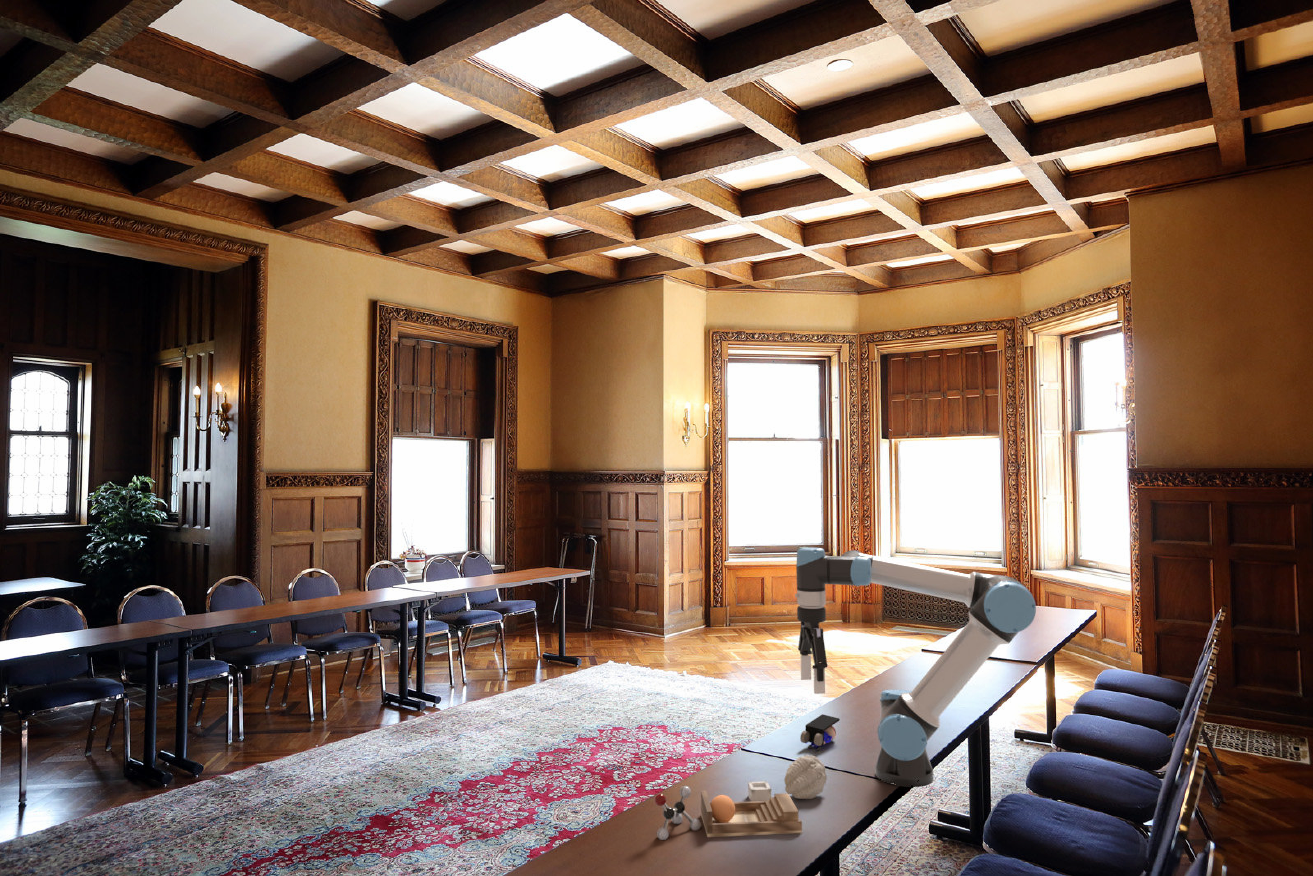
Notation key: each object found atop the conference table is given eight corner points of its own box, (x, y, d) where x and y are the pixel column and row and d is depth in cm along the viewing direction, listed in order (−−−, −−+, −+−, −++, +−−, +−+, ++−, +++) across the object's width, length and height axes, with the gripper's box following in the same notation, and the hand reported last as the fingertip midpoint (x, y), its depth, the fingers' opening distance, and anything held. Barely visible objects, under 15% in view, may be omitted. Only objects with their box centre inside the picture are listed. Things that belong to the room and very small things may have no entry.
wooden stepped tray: (790, 813, 196) (789, 787, 197) (802, 835, 184) (801, 808, 185) (701, 816, 195) (700, 790, 195) (707, 839, 183) (707, 811, 183)
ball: (711, 819, 192) (735, 812, 192) (714, 830, 186) (739, 823, 186) (705, 794, 192) (729, 788, 193) (709, 804, 186) (733, 798, 187)
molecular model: (703, 830, 188) (702, 784, 188) (671, 849, 179) (670, 800, 179) (676, 820, 193) (675, 775, 193) (643, 838, 184) (643, 791, 184)
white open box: (767, 796, 207) (767, 781, 207) (771, 804, 202) (771, 789, 202) (748, 797, 206) (748, 782, 206) (751, 805, 201) (751, 790, 201)
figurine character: (820, 759, 237) (841, 739, 248) (818, 734, 236) (840, 715, 248) (800, 754, 241) (822, 735, 253) (798, 729, 240) (820, 711, 252)
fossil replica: (793, 807, 200) (792, 767, 200) (776, 795, 207) (775, 756, 208) (834, 800, 204) (833, 760, 204) (815, 788, 212) (815, 749, 212)
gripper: (786, 598, 226) (787, 674, 225) (809, 614, 201) (811, 700, 200) (812, 598, 226) (814, 673, 226) (838, 614, 201) (840, 699, 201)
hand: (812, 686), depth 213 cm, fingers open, 13 cm apart
